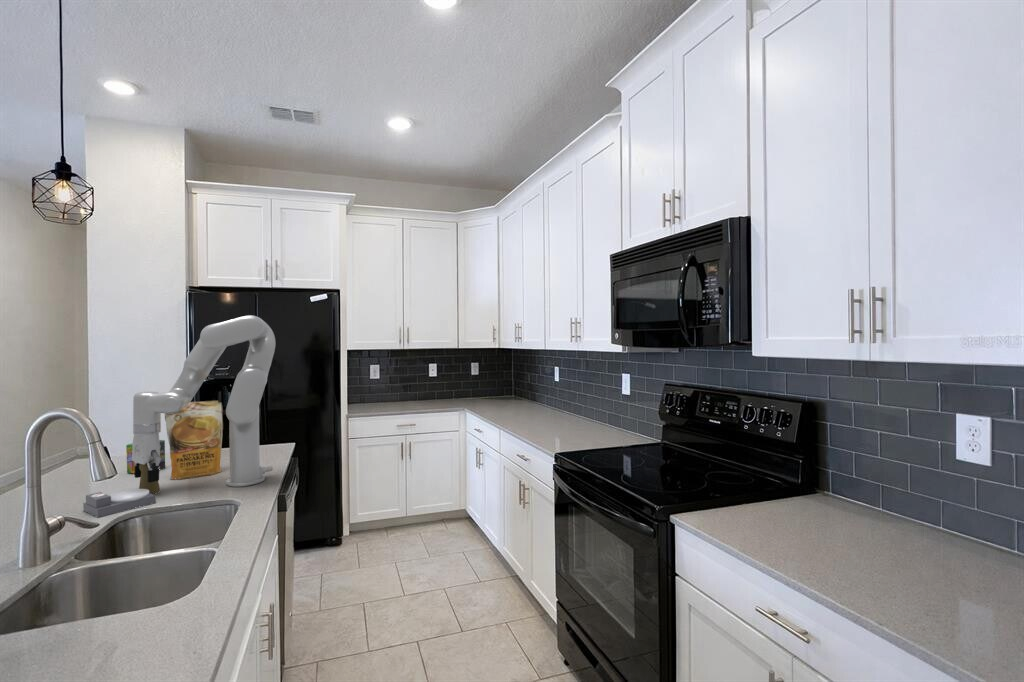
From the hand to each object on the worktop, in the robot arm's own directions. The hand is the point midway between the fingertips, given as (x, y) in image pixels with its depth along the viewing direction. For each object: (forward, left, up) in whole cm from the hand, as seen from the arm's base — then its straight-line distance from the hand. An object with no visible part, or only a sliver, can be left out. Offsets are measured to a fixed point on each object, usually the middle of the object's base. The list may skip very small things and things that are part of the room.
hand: (146, 479), depth 171 cm
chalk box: (-13, -33, -5) cm, 35 cm away
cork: (-1, 0, -5) cm, 5 cm away
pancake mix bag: (-20, -9, -5) cm, 22 cm away
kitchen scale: (+10, +8, -5) cm, 14 cm away
